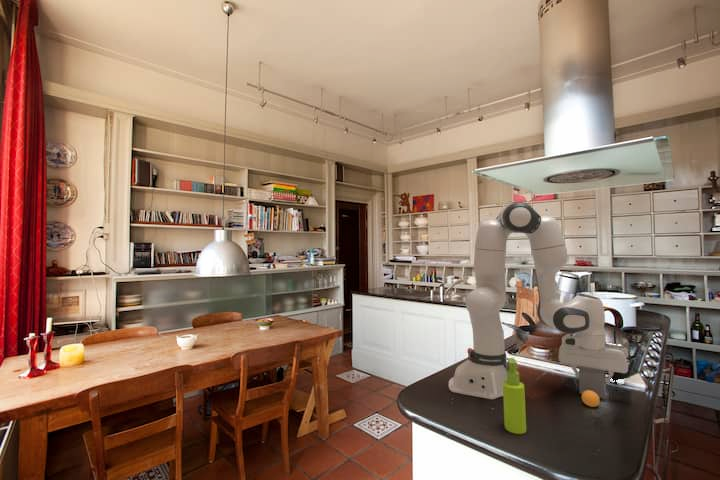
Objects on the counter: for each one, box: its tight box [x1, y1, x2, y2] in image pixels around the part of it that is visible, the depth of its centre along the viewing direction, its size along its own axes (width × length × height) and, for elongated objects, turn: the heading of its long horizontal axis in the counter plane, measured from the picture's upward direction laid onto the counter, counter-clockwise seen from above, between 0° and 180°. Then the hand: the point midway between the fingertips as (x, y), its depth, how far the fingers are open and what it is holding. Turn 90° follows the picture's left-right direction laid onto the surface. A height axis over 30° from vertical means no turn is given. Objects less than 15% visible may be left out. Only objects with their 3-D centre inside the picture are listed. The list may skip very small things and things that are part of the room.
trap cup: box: [578, 366, 607, 399], centre depth 121 cm, size 7×7×8 cm
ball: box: [581, 390, 601, 408], centre depth 113 cm, size 5×5×5 cm
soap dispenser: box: [502, 357, 527, 435], centre depth 102 cm, size 6×7×20 cm
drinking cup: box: [607, 329, 629, 386], centre depth 131 cm, size 8×8×20 cm
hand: (592, 380), depth 121 cm, fingers closed on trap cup, 7 cm apart
